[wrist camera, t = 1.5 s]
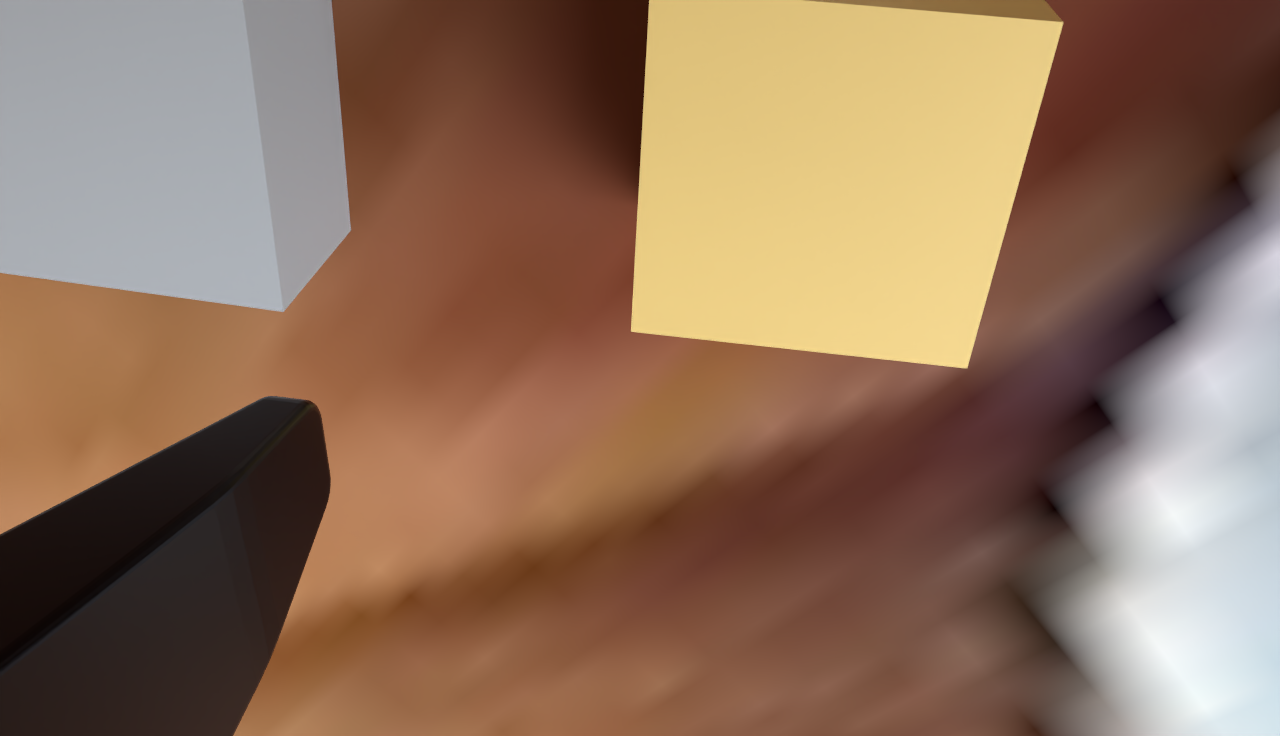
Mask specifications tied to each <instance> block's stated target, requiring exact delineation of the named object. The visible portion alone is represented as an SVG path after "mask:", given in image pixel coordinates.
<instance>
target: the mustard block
mask: <svg viewBox="0 0 1280 736" xmlns="http://www.w3.org/2000/svg"><path fill="white" fill-rule="evenodd" d="M1062 25H1063V21H1062V20H1061V19H1060V18H1059V16H1058V15H1057V14H1056V13H1055V12H1054V11H1053V9H1052V8H1051V7H1050V6H1049V5H1048V4H1047V2H1046V1H1045V0H649V13H648V31H647V50H646V68H645V86H644V104H643V123H642V141H641V159H640V177H639V195H638V214H637V232H636V250H635V268H634V287H633V305H632V323H631V332H639V333H648V334H658V335H667V336H676V337H685V338H694V339H703V340H712V341H721V342H731V343H740V344H749V345H758V346H767V347H776V348H785V349H794V350H804V351H813V352H822V353H831V354H840V355H849V356H858V357H867V358H877V359H886V360H895V361H904V362H913V363H922V364H931V365H941V366H950V367H959V368H967V367H968V363H969V360H970V356H971V352H972V349H973V345H974V342H975V338H976V335H977V331H978V327H979V324H980V320H981V317H982V313H983V309H984V306H985V302H986V299H987V295H988V291H989V288H990V284H991V281H992V277H993V273H994V270H995V266H996V263H997V259H998V255H999V252H1000V248H1001V245H1002V241H1003V237H1004V234H1005V230H1006V227H1007V223H1008V220H1009V216H1010V212H1011V209H1012V205H1013V202H1014V198H1015V194H1016V191H1017V187H1018V184H1019V180H1020V176H1021V173H1022V169H1023V166H1024V162H1025V158H1026V155H1027V151H1028V148H1029V144H1030V140H1031V137H1032V133H1033V130H1034V126H1035V122H1036V119H1037V115H1038V112H1039V108H1040V104H1041V101H1042V97H1043V94H1044V90H1045V87H1046V83H1047V79H1048V76H1049V72H1050V69H1051V65H1052V61H1053V58H1054V54H1055V51H1056V47H1057V43H1058V40H1059V36H1060V33H1061V29H1062Z"/></svg>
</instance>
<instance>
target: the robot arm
mask: <svg viewBox="0 0 1280 736" xmlns="http://www.w3.org/2000/svg"><path fill="white" fill-rule="evenodd" d="M330 483H331V478H330V470H329V463H328V457H327V450H326V443H325V437H324V430H323V424H322V418H321V414H320V411H319V409H318V407H317V406H316V405H315V404H314V403H313V402H311V401H309V400H302V399H294V398H286V397H277V396H268V397H264V398H262V399H260V400H257V401H256V402H254V403H252V404H250V405H248V406H246V407H244V408H242V409H240V410H238V411H236V412H234V413H233V414H231V415H229V416H227V417H225V418H223V419H221V420H219V421H217V422H215V423H213V424H211V425H209V426H208V427H206V428H204V429H202V430H200V431H198V432H196V433H194V434H192V435H190V436H188V437H186V438H185V439H183V440H181V441H179V442H177V443H175V444H173V445H171V446H169V447H167V448H165V449H163V450H161V451H160V452H158V453H156V454H154V455H152V456H150V457H148V458H146V459H144V460H142V461H140V462H138V463H137V464H135V465H133V466H131V467H129V468H127V469H125V470H123V471H121V472H119V473H117V474H115V475H113V476H112V477H110V478H108V479H106V480H104V481H102V482H100V483H98V484H96V485H94V486H92V487H90V488H89V489H87V490H85V491H83V492H81V493H79V494H77V495H75V496H73V497H71V498H69V499H67V500H65V501H64V502H62V503H60V504H58V505H56V506H54V507H52V508H50V509H48V510H46V511H44V512H42V513H41V514H39V515H37V516H35V517H33V518H31V519H29V520H27V521H25V522H23V523H21V524H19V525H17V526H16V527H14V528H12V529H10V530H8V531H6V532H4V533H2V534H0V736H233V735H234V733H235V731H236V729H237V727H238V725H239V723H240V721H241V719H242V717H243V715H244V713H245V711H246V709H247V707H248V704H249V702H250V700H251V698H252V696H253V694H254V692H255V690H256V688H257V686H258V684H259V682H260V680H261V678H262V676H263V674H264V671H265V669H266V667H267V665H268V663H269V661H270V659H271V656H272V653H273V651H274V648H275V646H276V643H277V641H278V638H279V636H280V633H281V630H282V628H283V625H284V622H285V619H286V617H287V614H288V611H289V608H290V605H291V603H292V600H293V597H294V594H295V592H296V589H297V586H298V583H299V581H300V578H301V575H302V572H303V569H304V567H305V564H306V561H307V558H308V556H309V553H310V550H311V547H312V545H313V542H314V539H315V536H316V534H317V531H318V528H319V525H320V522H321V520H322V517H323V514H324V511H325V509H326V506H327V502H328V498H329V494H330Z"/></svg>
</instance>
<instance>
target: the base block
mask: <svg viewBox="0 0 1280 736" xmlns="http://www.w3.org/2000/svg"><path fill="white" fill-rule="evenodd" d="M350 231H351V226H350V215H349V203H348V191H347V179H346V167H345V155H344V143H343V132H342V120H341V108H340V96H339V84H338V72H337V60H336V49H335V37H334V25H333V13H332V1H331V0H0V273H6V274H13V275H20V276H28V277H35V278H42V279H49V280H57V281H64V282H71V283H78V284H86V285H93V286H100V287H107V288H115V289H122V290H129V291H136V292H144V293H151V294H158V295H165V296H173V297H180V298H187V299H194V300H202V301H209V302H216V303H223V304H231V305H238V306H245V307H252V308H259V309H267V310H274V311H281V312H284V311H285V309H286V308H287V307H288V306H289V305H290V303H291V302H292V301H293V300H294V299H295V297H296V296H297V295H298V294H299V293H300V291H301V290H302V289H303V288H304V286H305V285H306V284H307V283H308V282H309V280H310V279H311V278H312V277H313V276H314V274H315V273H316V272H317V271H318V270H319V268H320V267H321V266H322V265H323V263H324V262H325V261H326V260H327V259H328V257H329V256H330V255H331V254H332V253H333V251H334V250H335V249H336V248H337V247H338V245H339V244H340V243H341V242H342V241H343V239H344V238H345V237H346V236H347V234H348V233H349V232H350Z"/></svg>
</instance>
